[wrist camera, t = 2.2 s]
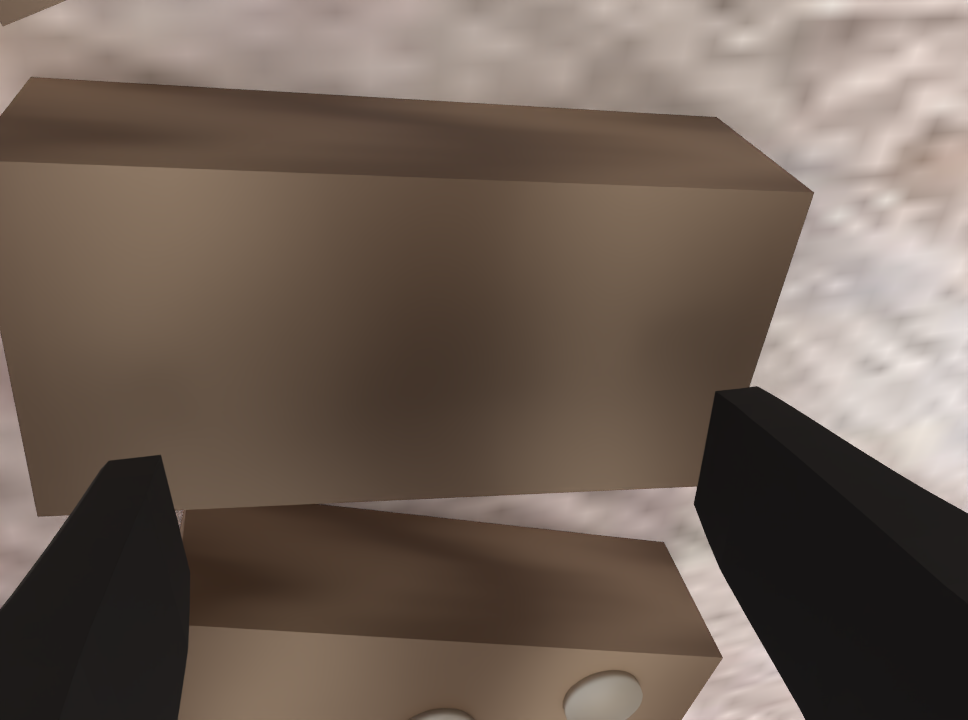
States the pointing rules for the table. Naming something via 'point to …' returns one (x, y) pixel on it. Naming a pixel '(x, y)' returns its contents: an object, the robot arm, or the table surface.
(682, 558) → the table surface
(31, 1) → the pip block five
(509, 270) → the plain block
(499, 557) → the pip block three
